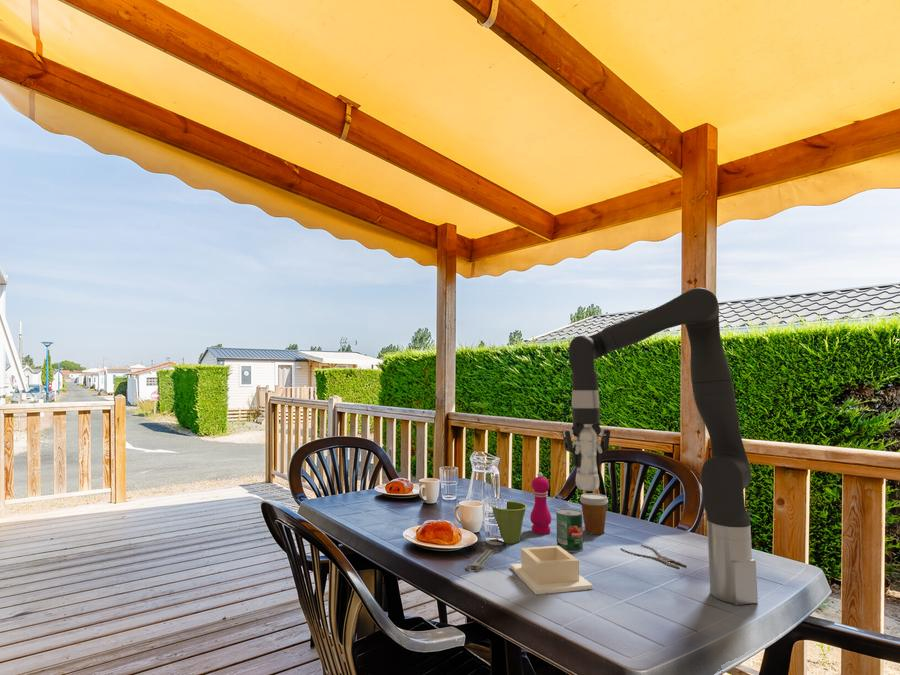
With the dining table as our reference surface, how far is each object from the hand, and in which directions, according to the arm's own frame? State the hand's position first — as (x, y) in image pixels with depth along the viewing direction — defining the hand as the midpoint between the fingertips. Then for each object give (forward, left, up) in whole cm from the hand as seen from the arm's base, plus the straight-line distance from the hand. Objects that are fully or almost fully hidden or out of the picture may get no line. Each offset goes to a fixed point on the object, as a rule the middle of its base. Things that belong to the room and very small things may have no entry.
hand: (587, 466), depth 139 cm
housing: (-4, +14, -27) cm, 31 cm away
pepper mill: (+35, 0, -28) cm, 45 cm away
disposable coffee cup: (+31, -18, -28) cm, 46 cm away
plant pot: (+28, +14, -28) cm, 42 cm away
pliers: (+5, -24, -28) cm, 38 cm away
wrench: (+13, +27, -28) cm, 41 cm away
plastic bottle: (0, 0, -7) cm, 7 cm away
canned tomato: (+17, -2, -28) cm, 33 cm away
